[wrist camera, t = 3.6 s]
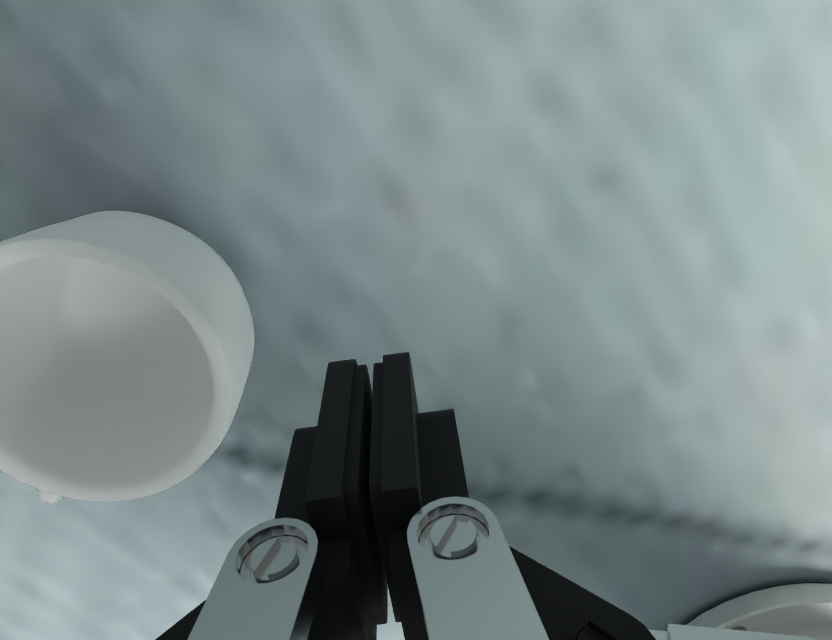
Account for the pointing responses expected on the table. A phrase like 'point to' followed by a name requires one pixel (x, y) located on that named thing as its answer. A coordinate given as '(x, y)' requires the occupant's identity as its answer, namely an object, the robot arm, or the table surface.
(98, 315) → the teacup
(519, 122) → the table surface
